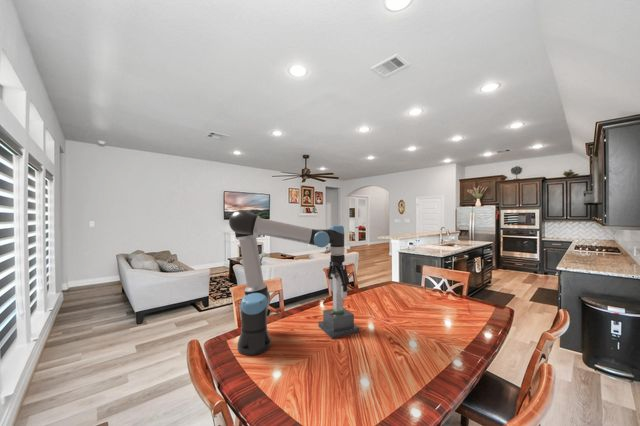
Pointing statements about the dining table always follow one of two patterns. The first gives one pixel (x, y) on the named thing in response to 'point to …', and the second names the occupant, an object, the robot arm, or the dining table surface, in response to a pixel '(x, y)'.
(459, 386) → the dining table surface
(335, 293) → the column
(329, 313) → the stand base
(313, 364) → the dining table surface
